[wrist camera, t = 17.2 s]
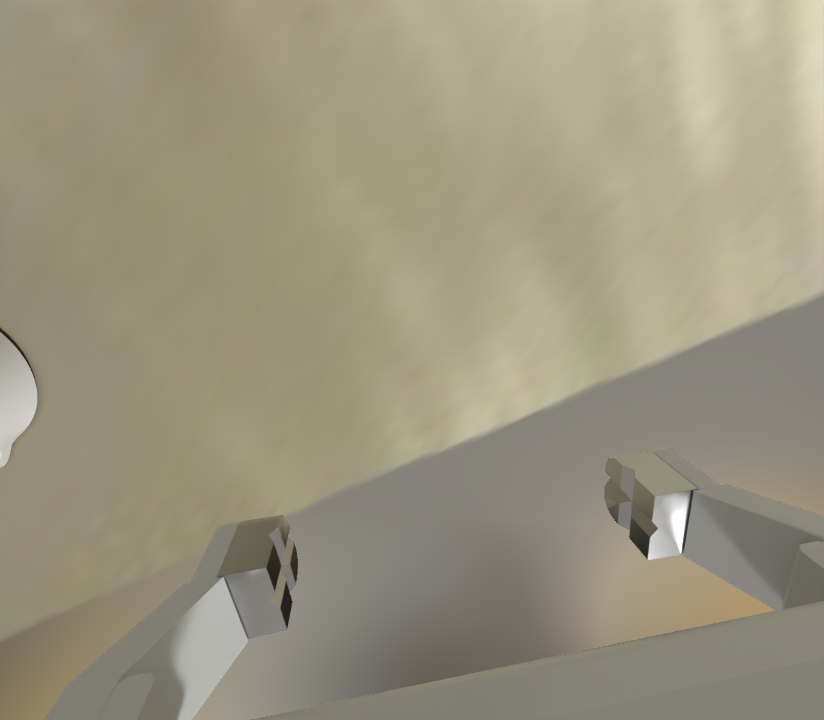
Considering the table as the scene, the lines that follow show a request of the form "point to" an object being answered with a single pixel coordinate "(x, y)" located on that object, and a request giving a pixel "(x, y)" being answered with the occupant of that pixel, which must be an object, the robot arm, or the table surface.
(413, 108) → the table surface
